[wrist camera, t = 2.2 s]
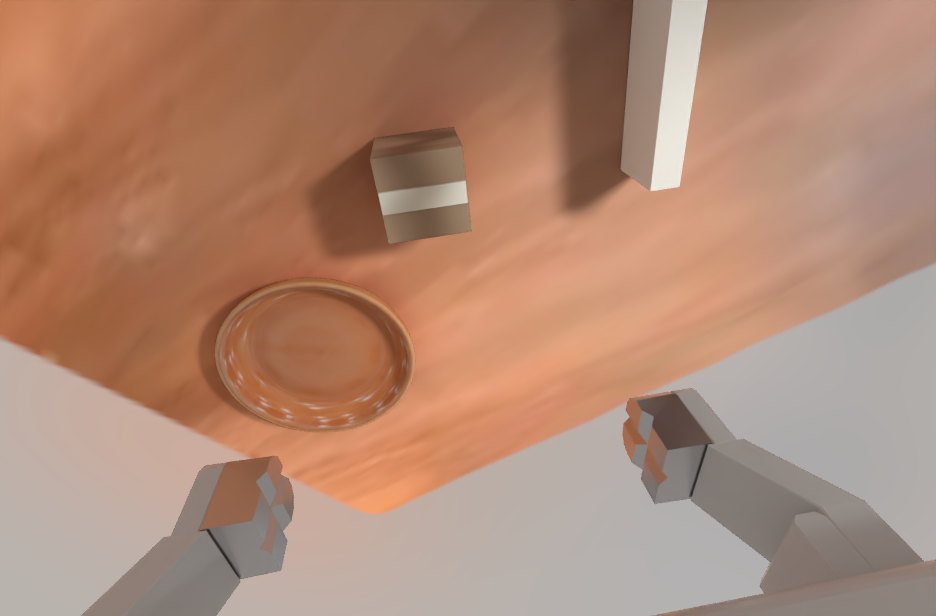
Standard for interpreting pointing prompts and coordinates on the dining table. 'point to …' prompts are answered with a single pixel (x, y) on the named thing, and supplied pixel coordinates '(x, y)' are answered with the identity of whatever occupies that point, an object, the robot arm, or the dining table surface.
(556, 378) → the dining table surface
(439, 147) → the cube
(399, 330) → the saucer
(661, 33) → the white l-shaped bracket
